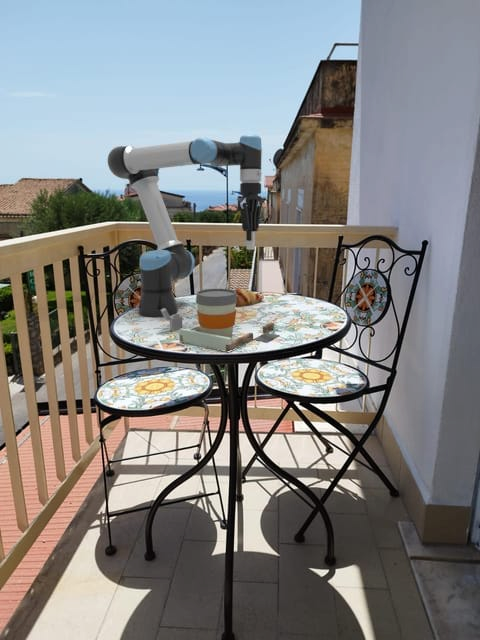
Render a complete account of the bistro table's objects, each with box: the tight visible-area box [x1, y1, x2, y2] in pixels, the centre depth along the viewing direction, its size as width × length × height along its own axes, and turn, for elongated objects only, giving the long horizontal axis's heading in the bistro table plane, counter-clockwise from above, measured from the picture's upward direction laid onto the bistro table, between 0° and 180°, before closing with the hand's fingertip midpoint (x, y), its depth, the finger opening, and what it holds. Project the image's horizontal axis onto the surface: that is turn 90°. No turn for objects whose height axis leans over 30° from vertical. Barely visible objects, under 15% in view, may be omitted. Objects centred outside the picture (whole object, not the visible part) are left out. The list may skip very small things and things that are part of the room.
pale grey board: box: [178, 328, 233, 352], centre depth 126 cm, size 1×18×4 cm, turn 57°
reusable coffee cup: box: [195, 288, 237, 338], centre depth 131 cm, size 13×13×15 cm
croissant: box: [234, 288, 265, 307], centre depth 178 cm, size 21×10×8 cm, turn 120°
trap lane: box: [179, 322, 280, 351], centre depth 137 cm, size 27×28×2 cm
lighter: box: [161, 308, 184, 332], centre depth 141 cm, size 7×2×8 cm, turn 126°
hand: (250, 249), depth 157 cm, fingers closed
